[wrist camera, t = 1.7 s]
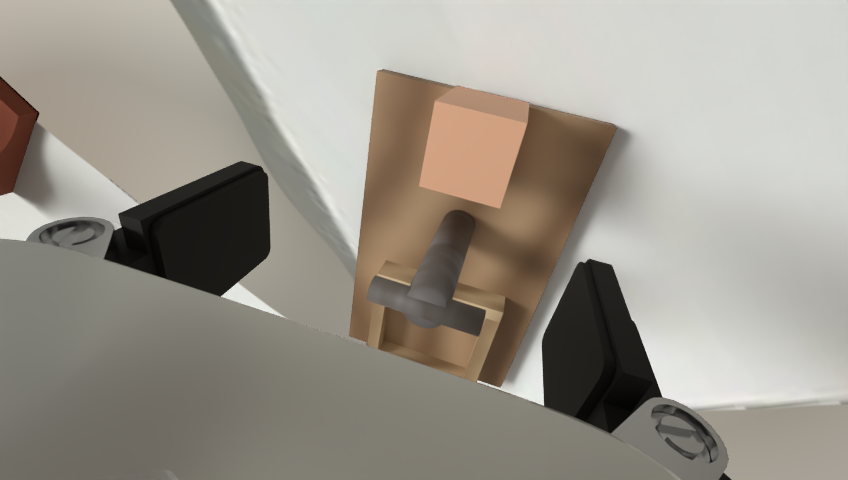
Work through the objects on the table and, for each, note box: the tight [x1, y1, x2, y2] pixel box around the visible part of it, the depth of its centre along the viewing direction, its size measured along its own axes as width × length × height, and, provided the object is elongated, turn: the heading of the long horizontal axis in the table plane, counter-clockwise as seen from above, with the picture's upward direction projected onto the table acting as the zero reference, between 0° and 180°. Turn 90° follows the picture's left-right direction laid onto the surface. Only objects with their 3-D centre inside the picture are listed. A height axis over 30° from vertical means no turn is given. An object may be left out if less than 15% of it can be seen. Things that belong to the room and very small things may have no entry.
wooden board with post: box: [349, 69, 617, 387], centre depth 25 cm, size 15×24×12 cm, turn 169°
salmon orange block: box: [419, 86, 529, 209], centre depth 21 cm, size 4×4×6 cm
